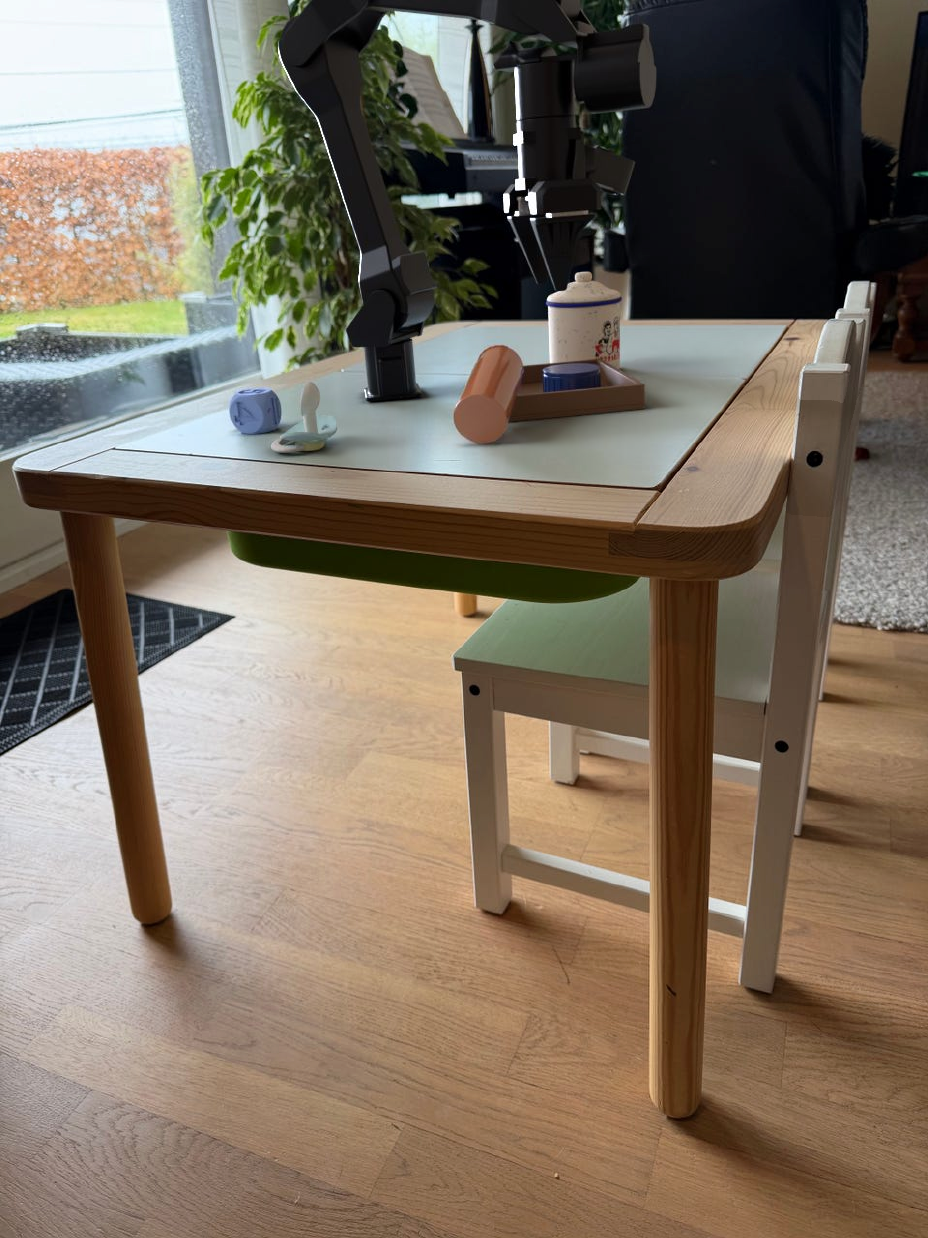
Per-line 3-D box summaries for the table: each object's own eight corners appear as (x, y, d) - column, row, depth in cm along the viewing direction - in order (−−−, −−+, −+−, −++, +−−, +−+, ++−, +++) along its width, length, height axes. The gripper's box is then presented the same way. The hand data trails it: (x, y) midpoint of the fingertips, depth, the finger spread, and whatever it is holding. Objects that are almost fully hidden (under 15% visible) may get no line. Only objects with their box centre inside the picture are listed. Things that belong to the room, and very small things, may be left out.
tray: (474, 391, 111) (472, 369, 110) (600, 379, 112) (600, 358, 111) (497, 422, 95) (496, 398, 94) (644, 408, 97) (644, 384, 96)
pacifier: (261, 459, 89) (323, 455, 88) (249, 392, 86) (312, 387, 85) (287, 440, 95) (344, 436, 94) (275, 377, 93) (334, 372, 92)
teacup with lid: (609, 379, 112) (608, 275, 108) (537, 377, 116) (534, 277, 111) (636, 361, 122) (637, 265, 117) (570, 360, 126) (568, 267, 121)
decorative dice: (266, 434, 98) (260, 395, 96) (232, 434, 99) (225, 395, 97) (284, 425, 101) (278, 387, 100) (251, 425, 102) (245, 387, 101)
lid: (542, 400, 102) (541, 374, 100) (544, 388, 107) (543, 364, 106) (601, 397, 101) (601, 371, 100) (600, 386, 106) (599, 361, 105)
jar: (449, 436, 88) (472, 383, 96) (501, 449, 88) (520, 395, 96) (457, 389, 85) (480, 338, 93) (511, 401, 85) (529, 349, 93)
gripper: (655, 104, 85) (653, 287, 91) (601, 120, 102) (602, 274, 108) (533, 113, 84) (540, 297, 90) (499, 128, 101) (506, 282, 107)
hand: (551, 287), depth 99 cm, fingers open, 9 cm apart
